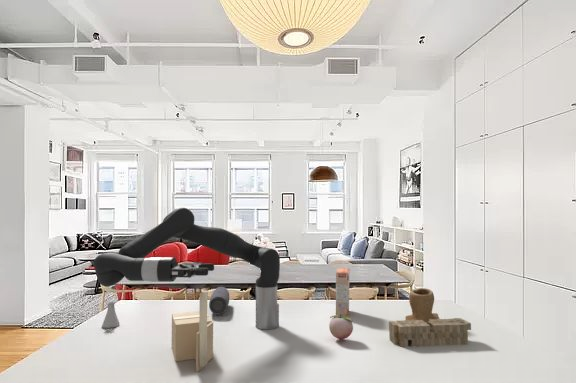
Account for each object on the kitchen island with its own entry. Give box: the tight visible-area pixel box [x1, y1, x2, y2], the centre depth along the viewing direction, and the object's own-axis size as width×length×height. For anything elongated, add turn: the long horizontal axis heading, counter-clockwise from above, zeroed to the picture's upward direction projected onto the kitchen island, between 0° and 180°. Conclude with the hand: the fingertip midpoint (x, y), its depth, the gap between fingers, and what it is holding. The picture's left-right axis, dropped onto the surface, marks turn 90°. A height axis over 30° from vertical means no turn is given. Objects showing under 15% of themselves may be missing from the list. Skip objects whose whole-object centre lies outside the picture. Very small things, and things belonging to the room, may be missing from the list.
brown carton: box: [171, 310, 213, 362], centre depth 138 cm, size 12×14×12 cm
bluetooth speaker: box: [208, 286, 230, 315], centre depth 193 cm, size 23×9×10 cm, turn 6°
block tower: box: [388, 317, 472, 348], centre depth 148 cm, size 8×8×29 cm
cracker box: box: [335, 267, 350, 318], centre depth 187 cm, size 14×6×21 cm, turn 168°
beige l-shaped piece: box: [195, 292, 214, 373], centre depth 127 cm, size 12×3×24 cm, turn 169°
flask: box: [101, 301, 121, 329], centre depth 168 cm, size 7×7×10 cm
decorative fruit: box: [328, 314, 354, 341], centre depth 150 cm, size 9×8×10 cm
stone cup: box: [404, 287, 440, 324], centre depth 172 cm, size 15×12×15 cm
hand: (211, 269), depth 123 cm, fingers open, 8 cm apart
